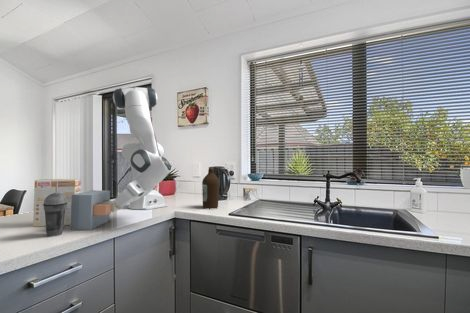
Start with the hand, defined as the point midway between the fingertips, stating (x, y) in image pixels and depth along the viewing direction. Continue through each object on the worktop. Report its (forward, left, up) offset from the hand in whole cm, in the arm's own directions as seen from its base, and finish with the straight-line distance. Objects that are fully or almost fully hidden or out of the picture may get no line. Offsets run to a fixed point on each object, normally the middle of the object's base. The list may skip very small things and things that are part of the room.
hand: (119, 207), depth 103 cm
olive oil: (-53, -4, -7) cm, 54 cm away
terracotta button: (+8, +3, -1) cm, 8 cm away
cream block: (+3, -2, -1) cm, 4 cm away
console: (+10, -4, -7) cm, 13 cm away
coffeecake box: (+21, -14, -7) cm, 26 cm away
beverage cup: (+23, +3, -7) cm, 24 cm away
